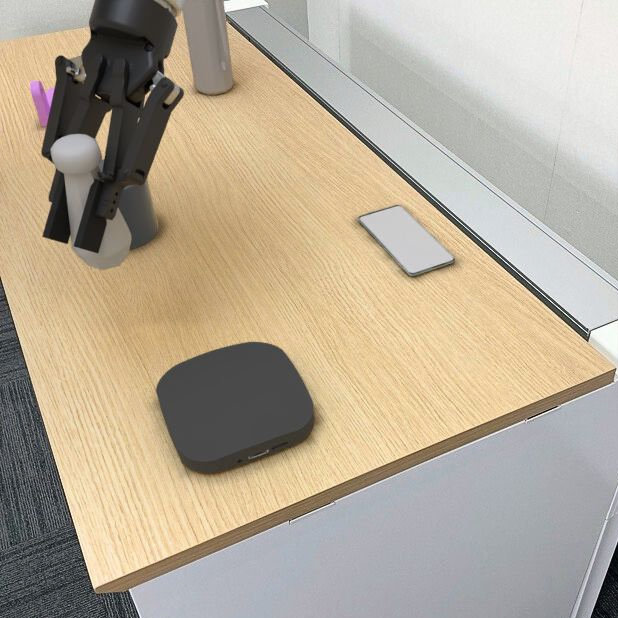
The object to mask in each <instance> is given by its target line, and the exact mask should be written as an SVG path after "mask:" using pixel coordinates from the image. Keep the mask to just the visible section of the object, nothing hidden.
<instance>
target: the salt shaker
mask: <svg viewBox="0 0 618 618" xmlns="http://www.w3.org/2000/svg"><path fill="white" fill-rule="evenodd" d="M51 156H52V160H53V163H54V164H53V163H52V164H53V165H54V168H55V167H56V168H55V170H56V169H57V170H59V171H60V172H62V173H64V178H65V187H66V195H67V204H68V213H69V222H70V230H71V234H70V238H69V239H70V244H71V248H72V250H73V252H74V254H75V255H76V256H77V257H78V258H79V259H81V261H82V262H83V263H85V265H86V266H88V267H90V268H93V269H97V270H100V271H106V270H109V269H113V268H117V267H120V266H121V265H122V264H123V263H124V262H125V260H126V259H127V257H128V256H129V253H130V250H131V249H130V244H131V233H130V231H129V228H128V226H127V224H126V222H125V220H124V218H123V216H122V214H121V212H120V210H119V208H118V209H117V212H116V216H115V217H114V219H113V220H109V219H106V220H107V225H106V229H105V232H104V236H103V239H102V243H101V246H100V249H99V253H94V252H91V251H87V250H84V249H81V248H77V247H74V242H75V239H76V235H77V232H78V228H79V225H80V221H81V218H82V215H83V211H84V208H85V204H86V201H87V197H88V194H89V190H90V187H91V185H92V184H93V182H94V179H97V180H100V181H103V182H104V180H102V179H100V178H99V177H98V176H97V172H101V171H100V169H99V167H98V166H99V165H100V163H101V161H102V160H103V154H102V150H101V148H100V145H99V143H98V141H97V140H96V138H95V139H93V138H92V137H90V136H88V135H85V134H71V135H67V136H64V137H62V138H60V139H58V140H57V141H56V142H55V143H54V144H53V146H52V148H51Z"/></svg>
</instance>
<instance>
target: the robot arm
mask: <svg viewBox="0 0 618 618" xmlns="http://www.w3.org/2000/svg"><path fill="white" fill-rule="evenodd" d="M184 1H185V0H94V2H93V5H92V8H91V13H90V16H89V19H88V27H89V32H90V37H89V40H88V42H87V44H86V45H85V46H84V48H83V49H82V51H81V53H80V55H79V56H78V55H77V56H74V57H71V58H68V57H65V56H64V55H62V54H60V55H58V56H56V58H55V60H54V71H55V84H54V87H55V88H54V93H53V98H52V103H51V107H50V112H49V117H48V122H47V126H45V130H44V131H45V133H44V135H43V142H42V145H41V153H40V154H41V156H42V157H43V158H45V159H46V160H48V161H49V162H50V163H52V164H53V165H54V163H53V160H52V156H51V148H52V146H53V144H54V143H55V142H56V141H57V140H58V139H60V138H62V137H64V136H67V135H71V134H85V135H88V136H90V137H92V138H93V139H95V140H96V138H97V135H98V133H99V130H100V128H101V126H102V124H103V122H104V120H105V117H106V115H107V114H108V113H110V112H111V114H110V121H109V127H108V132H107V133H108V134H107V140H106V146H105V153H104V158H103V159H104V165H103V171H102V172H97V176H98V177H99V178H100V179H102V180H104V182H103V181H100V180H97V179H94V182H93V184H92V185H91V187H90V190H89V194H88V197H87V201H86V204H85V208H84V211H83V215H82V218H81V221H80V225H79V228H78V232H77V235H76V239H75V242H74V247H77V248H81V249H84V250H87V251H91V252H94V253H99V249H100V246H101V243H102V239H103V236H104V232H105V229H106V225H107V220H106V219H109V220H113V219H114V217H115V216H116V212H117V209H118V205H119V202H120V198H121V195H122V192H123V189H124V188H125V187H126V186H129V185H139V186H141V185H143V184H144V183H145V182H146V179H147V177H148V176H149V173H150V171H151V168H152V166H153V163H154V161H155V158H156V155H157V153H158V151H159V150H158V149H159V147H160V144H161V141H162V139H163V136H164V134H165V131H166V128H167V126H168V123H169V121H170V118H171V115H172V112H173V111H174V110H175V109H176V107H177V106H178V104H180V102H181V101H182V99H183V98H184V96H185V90H184V89H183V88H182V87H181V86H179V85H178V84H177V83H176V82H175V81H173V80H172V79H170V78H169V77H168V76H166V75H165V71H166V70H165V65H164V61H165V60H166V59H167V58H168V57H170V54H171V50H172V47H173V44H174V40H175V37H176V34H177V29H178V26H179V25H178V22H177V19H176V18H178V17H180V16H181V14H182V13H183V12H182V8H183V5H184ZM148 94H149V95H148ZM147 95H148V96H147ZM146 96H147V97H146ZM54 168H55V172H54V176H53V179H52V182H51V186H50V188H49V189H50V190H49V192H48V202H49V203H51V204H50V207H49V211H48V215H47V218H46V222H45V226H44V229H43V232H42V236H41V238H43V239H44V238H45V239H48V240H51V241H55V242H58V243H62V244H65V245H68V244H69V241H70V239H71V238H70V234H71V230H70V222H69V213H68V204H67V195H66V187H65V178H64V173H62V172H60V171H59V170H57V169H56V167H55V166H54Z"/></svg>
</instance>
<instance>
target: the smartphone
mask: <svg viewBox="0 0 618 618" xmlns="http://www.w3.org/2000/svg"><path fill="white" fill-rule="evenodd" d="M358 222H359V223H360V225H362V226H363V228H365V230H366V231H368V233H369V234H370V235H371V237H373V238H374V239H375V241H376V242H377V243H378V244H379V245H380V246H381V247H382V248H383V249H384V250H385V251H386V252H387V253H388V254H389V255H390V257H392V259H393V260H394V261H395V262H396V263H397V264H398V265H399V266H400V267H401V268H402V270H404V271H405V272H406V274H407V275H409V276H411V277H413V276H414V277H415V276H418V275H422V274H424V273H428V272H429V271H433V270H437V269H439V268H442V267H445V266H448V265H451V264H453V263H454V262H455V260H456V258H455V256H454V255H453V254H451V252H450V251H449V250H447V249H446V248H445V246H444V245H442V244H441V243H440V242H439V241H438V240H437V239H436V238H435V237H434V236H433V235H432V234H431V233H430V232H429V231H428V230H427V229H426V228H425V227H424V226H423V225H422V224H421V223H420V222H419V221H418V220H416V218H414V216H413V215H411V214H410V212H409V211H407V210H406V209H405V208H404V207H403V205H400V204H395V205H391V206H389V207H385V208H381V209H378V210H375V211H371V212H368V213H365V214H361V215H359V216H358Z"/></svg>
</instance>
